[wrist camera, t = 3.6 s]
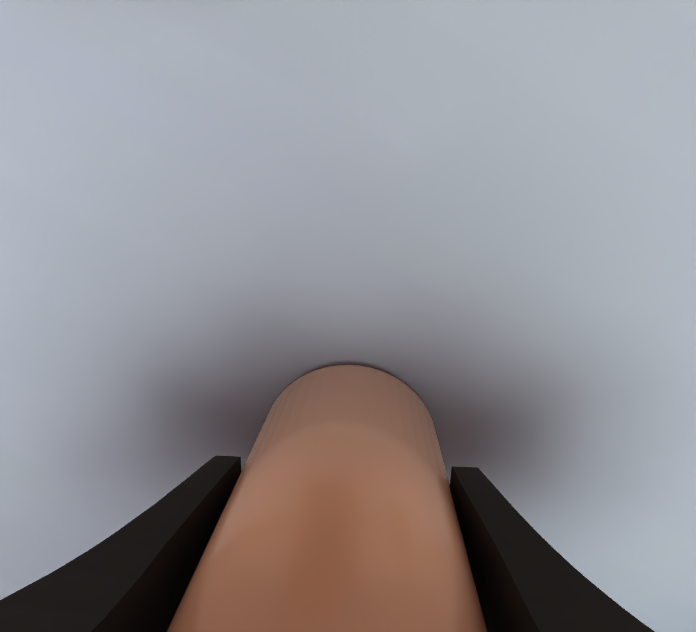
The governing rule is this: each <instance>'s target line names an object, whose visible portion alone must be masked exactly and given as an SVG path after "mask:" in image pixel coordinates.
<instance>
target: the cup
mask: <svg viewBox="0 0 696 632" xmlns="http://www.w3.org/2000/svg"><path fill="white" fill-rule="evenodd" d="M167 632H487V629H486V625H485V621H484V617H483V613H482V609H481V605H480V601H479V597H478V594H477V590H476V586H475V582H474V578H473V574H472V570H471V566H470V563H469V559H468V555H467V551H466V547H465V543H464V539H463V535H462V531H461V528H460V524H459V520H458V516H457V512H456V508H455V504H454V500H453V497H452V493H451V489H450V485H449V481H448V477H447V473H446V469H445V465H444V462H443V458H442V454H441V450H440V446H439V442H438V438H437V434H436V431H435V427H434V424H433V420H432V418H431V416H430V413H429V411H428V409H427V408H426V406H425V405H424V403H423V402H422V400H421V399H420V398H419V397H418V395H417V394H416V393H415V392H414V391H413V390H412V389H411V388H409V387H408V386H407V385H406V384H405V383H403V382H402V381H400V380H399V379H397V378H396V377H394V376H392V375H390V374H388V373H386V372H383V371H380V370H377V369H374V368H370V367H365V366H358V365H336V366H329V367H325V368H321V369H318V370H315V371H312V372H310V373H308V374H305V375H303V376H302V377H300V378H298V379H297V380H295V381H294V382H293V383H291V384H290V385H289V386H288V387H286V388H285V390H284V391H283V392H282V393H281V394H280V395H279V396H278V398H277V399H276V400H275V402H274V403H273V405H272V407H271V409H270V411H269V413H268V415H267V417H266V419H265V421H264V424H263V426H262V428H261V430H260V432H259V434H258V436H257V439H256V441H255V443H254V445H253V447H252V449H251V452H250V454H249V456H248V458H247V460H246V462H245V464H244V467H243V469H242V471H241V473H240V475H239V477H238V479H237V482H236V484H235V486H234V488H233V490H232V492H231V495H230V497H229V499H228V501H227V503H226V505H225V507H224V510H223V512H222V514H221V516H220V518H219V520H218V522H217V525H216V527H215V529H214V531H213V533H212V535H211V538H210V540H209V542H208V544H207V546H206V548H205V550H204V553H203V555H202V557H201V559H200V561H199V563H198V565H197V568H196V570H195V572H194V574H193V576H192V578H191V581H190V583H189V585H188V587H187V589H186V591H185V593H184V596H183V598H182V600H181V602H180V604H179V606H178V608H177V611H176V613H175V615H174V617H173V619H172V621H171V624H170V626H169V628H168V630H167Z"/></svg>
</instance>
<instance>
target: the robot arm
mask: <svg viewBox="0 0 696 632" xmlns="http://www.w3.org/2000/svg"><path fill="white" fill-rule="evenodd" d="M240 473H241V458H240V457H234V456H215V457H213V458H212V459H211V460H209V461H208V462H207V463H206V464H204V465H203V466H202V467H201V468H199V469H198V470H197V471H196V472H194V473H193V474H192V475H191V476H190V477H188V478H187V479H186V480H185V481H183V482H182V483H181V484H180V485H178V486H177V487H176V488H175V489H173V490H172V491H171V492H170V493H168V494H167V495H166V496H164V497H163V498H162V499H161V500H159V501H158V502H157V503H156V504H154V505H153V506H152V507H150V508H149V509H148V510H146V511H145V512H143V513H142V514H141V515H139V516H138V517H136V518H135V519H134V520H132V521H131V522H129V523H128V524H127V525H125V526H124V527H123V528H121V529H120V530H118V531H117V532H116V533H114V534H113V535H111V536H110V537H108V538H107V539H105V540H104V541H102V542H101V543H99V544H98V545H96V546H95V547H93V548H92V549H90V550H88V551H87V552H85V553H84V554H82V555H80V556H79V557H77V558H75V559H74V560H72V561H70V562H69V563H67V564H66V565H64V566H62V567H61V568H59V569H57V570H55V571H54V572H52V573H50V574H48V575H47V576H45V577H43V578H41V579H39V580H37V581H35V582H33V583H32V584H30V585H28V586H26V587H24V588H22V589H20V590H19V591H17V592H15V593H13V594H11V595H9V596H7V597H6V598H4V599H2V600H0V632H167V630H168V628H169V626H170V624H171V621H172V619H173V617H174V615H175V613H176V611H177V608H178V606H179V604H180V602H181V600H182V598H183V596H184V593H185V591H186V589H187V587H188V585H189V583H190V581H191V578H192V576H193V574H194V572H195V570H196V568H197V565H198V563H199V561H200V559H201V557H202V555H203V553H204V550H205V548H206V546H207V544H208V542H209V540H210V538H211V535H212V533H213V531H214V529H215V527H216V525H217V522H218V520H219V518H220V516H221V514H222V512H223V510H224V507H225V505H226V503H227V501H228V499H229V497H230V495H231V492H232V490H233V488H234V486H235V484H236V482H237V479H238V477H239V475H240ZM450 489H451V493H452V497H453V500H454V504H455V508H456V512H457V516H458V520H459V524H460V528H461V531H462V535H463V539H464V543H465V547H466V551H467V555H468V559H469V563H470V566H471V570H472V574H473V578H474V582H475V586H476V590H477V594H478V597H479V601H480V605H481V609H482V613H483V617H484V621H485V625H486V629H487V632H654V631H653V630H651V629H650V628H649V627H647V626H646V625H645V624H643V623H642V622H640V621H639V620H638V619H636V618H635V617H634V616H632V615H631V614H630V613H629V612H627V611H626V610H625V609H623V608H622V607H621V606H619V605H618V604H617V603H616V602H615V601H613V600H612V599H611V598H610V597H608V596H607V595H606V594H605V593H604V592H602V591H601V590H600V589H599V588H597V587H596V586H595V585H594V584H593V583H591V582H590V581H589V580H588V579H587V578H585V577H584V576H583V575H582V574H581V573H580V572H579V571H577V570H576V569H575V568H574V567H573V566H572V565H571V564H570V563H569V562H567V561H566V560H565V559H564V558H563V557H562V556H561V555H560V554H559V553H558V552H557V551H556V550H555V549H554V548H552V547H551V546H550V545H549V544H548V543H547V542H546V541H545V540H544V539H543V538H542V537H541V536H540V535H539V534H538V533H537V532H536V531H535V530H534V529H533V528H532V527H531V526H530V525H529V524H528V522H527V521H526V520H525V519H524V518H523V517H522V516H521V515H520V514H519V513H518V512H517V511H516V510H515V509H514V508H513V507H512V505H511V504H510V503H509V502H508V501H507V500H506V499H505V498H504V496H503V495H502V494H501V493H500V492H499V491H498V490H497V489H496V487H495V486H494V485H493V484H492V483H491V482H490V481H489V480H488V478H487V477H486V476H485V475H484V474H483V473H482V472H481V471H480V470H479V468H474V467H452V469H451V480H450Z"/></svg>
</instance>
